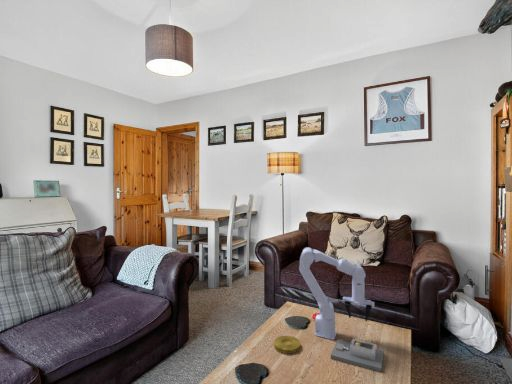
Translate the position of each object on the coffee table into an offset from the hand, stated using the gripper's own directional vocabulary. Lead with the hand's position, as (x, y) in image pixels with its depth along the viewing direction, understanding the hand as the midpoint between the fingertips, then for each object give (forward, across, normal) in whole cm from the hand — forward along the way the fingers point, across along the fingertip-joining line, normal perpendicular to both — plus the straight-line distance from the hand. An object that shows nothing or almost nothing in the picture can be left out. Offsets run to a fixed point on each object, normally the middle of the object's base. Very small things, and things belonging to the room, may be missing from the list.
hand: (358, 318), depth 140 cm
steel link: (+8, +4, -16) cm, 18 cm away
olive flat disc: (+10, -28, -23) cm, 38 cm away
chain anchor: (+8, -4, -16) cm, 18 cm away
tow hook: (+10, -22, +12) cm, 27 cm away
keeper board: (+9, +2, -16) cm, 19 cm away
